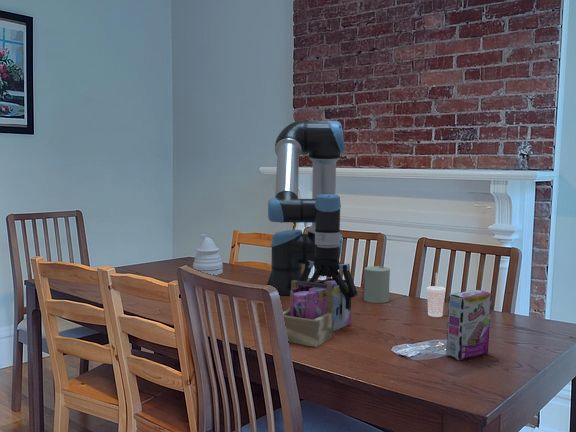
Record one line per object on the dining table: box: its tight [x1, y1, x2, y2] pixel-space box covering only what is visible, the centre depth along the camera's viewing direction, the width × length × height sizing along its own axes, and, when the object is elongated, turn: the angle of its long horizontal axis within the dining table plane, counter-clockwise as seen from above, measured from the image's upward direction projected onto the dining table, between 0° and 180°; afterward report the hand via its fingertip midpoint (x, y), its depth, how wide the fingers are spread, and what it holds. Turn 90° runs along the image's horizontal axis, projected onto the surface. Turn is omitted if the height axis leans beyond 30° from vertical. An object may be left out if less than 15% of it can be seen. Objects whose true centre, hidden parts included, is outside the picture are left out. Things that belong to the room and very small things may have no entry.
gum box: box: [289, 277, 352, 332], centre depth 174 cm, size 24×8×14 cm, turn 144°
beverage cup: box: [426, 272, 446, 318], centre depth 192 cm, size 6×6×14 cm
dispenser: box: [282, 280, 334, 348], centre depth 166 cm, size 11×13×15 cm
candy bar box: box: [445, 289, 492, 361], centre depth 153 cm, size 11×5×16 cm, turn 123°
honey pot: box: [192, 233, 224, 275], centre depth 255 cm, size 13×13×18 cm
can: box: [363, 265, 391, 304], centre depth 212 cm, size 9×9×12 cm
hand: (326, 316), depth 179 cm, fingers open, 12 cm apart
